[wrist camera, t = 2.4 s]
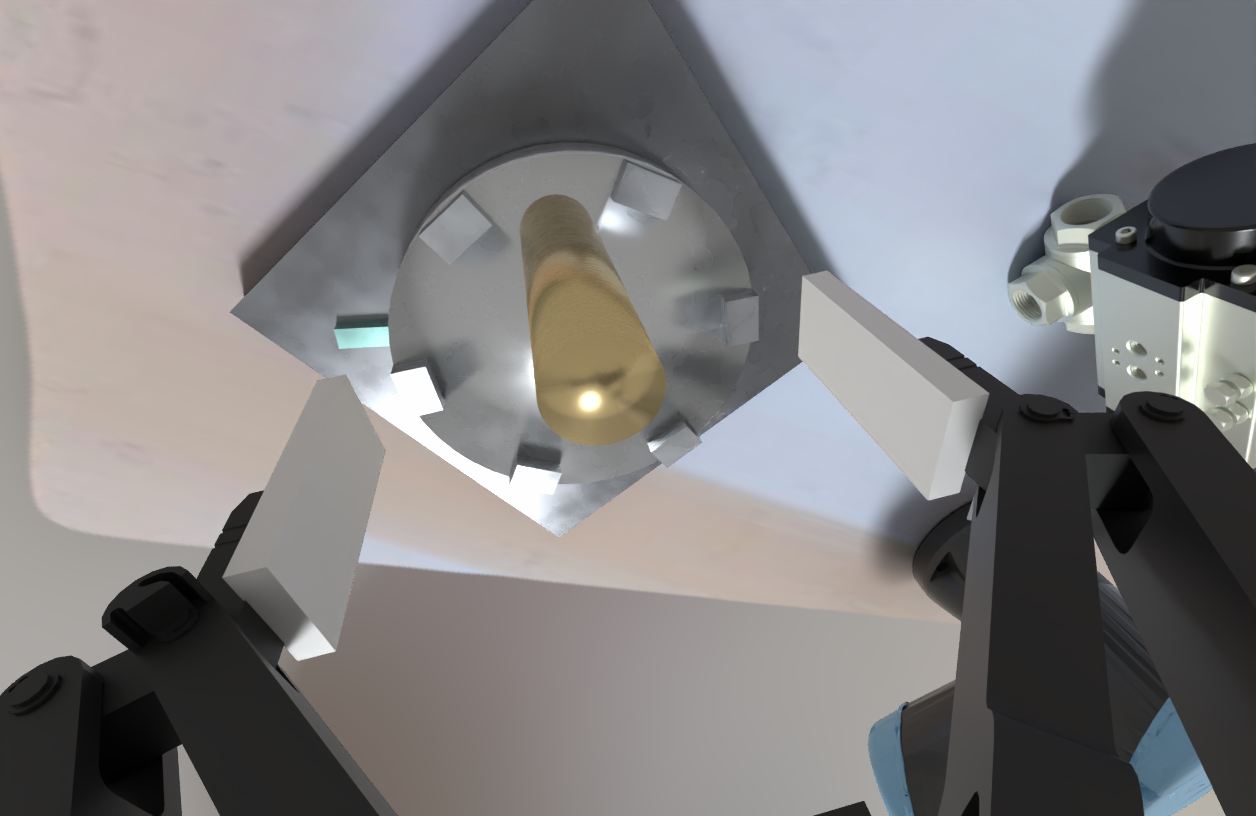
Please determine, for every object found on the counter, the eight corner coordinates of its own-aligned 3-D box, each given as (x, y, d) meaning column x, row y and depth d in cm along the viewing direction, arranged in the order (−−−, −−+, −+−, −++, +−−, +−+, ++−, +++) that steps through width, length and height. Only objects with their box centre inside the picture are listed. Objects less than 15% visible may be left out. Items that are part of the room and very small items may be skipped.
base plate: (831, 317, 39) (850, 334, 37) (556, 519, 45) (559, 543, 43) (597, -67, 25) (607, -76, 23) (243, 297, 31) (225, 316, 29)
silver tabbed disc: (790, 330, 37) (978, 527, 22) (562, 499, 41) (596, 753, 27) (596, 45, 26) (719, 70, 12) (316, 316, 30) (152, 578, 16)
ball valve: (978, 188, 36) (1297, 296, 22) (1106, 107, 35) (1539, 165, 20) (1014, 377, 46) (1248, 536, 32) (1115, 320, 45) (1407, 460, 30)
